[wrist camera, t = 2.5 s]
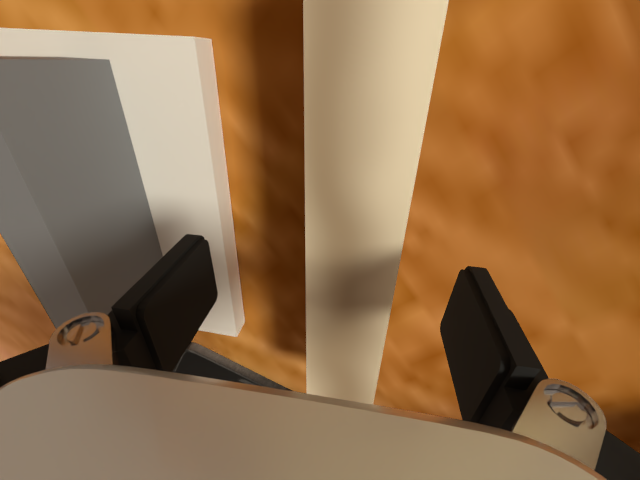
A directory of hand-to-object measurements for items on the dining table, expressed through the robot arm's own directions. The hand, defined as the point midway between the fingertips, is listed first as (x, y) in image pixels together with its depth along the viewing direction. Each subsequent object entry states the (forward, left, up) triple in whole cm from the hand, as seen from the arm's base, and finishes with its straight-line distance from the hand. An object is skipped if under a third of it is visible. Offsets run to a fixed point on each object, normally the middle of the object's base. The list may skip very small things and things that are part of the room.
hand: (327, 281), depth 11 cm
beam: (-1, 0, -7) cm, 7 cm away
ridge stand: (+12, +1, -7) cm, 14 cm away
